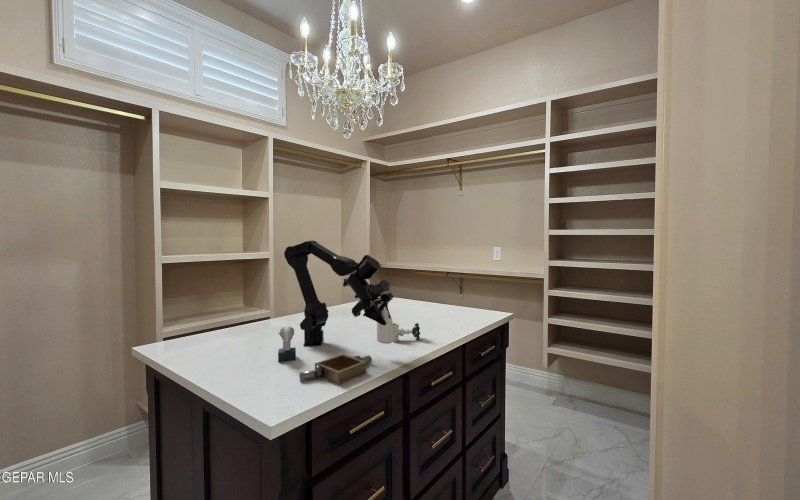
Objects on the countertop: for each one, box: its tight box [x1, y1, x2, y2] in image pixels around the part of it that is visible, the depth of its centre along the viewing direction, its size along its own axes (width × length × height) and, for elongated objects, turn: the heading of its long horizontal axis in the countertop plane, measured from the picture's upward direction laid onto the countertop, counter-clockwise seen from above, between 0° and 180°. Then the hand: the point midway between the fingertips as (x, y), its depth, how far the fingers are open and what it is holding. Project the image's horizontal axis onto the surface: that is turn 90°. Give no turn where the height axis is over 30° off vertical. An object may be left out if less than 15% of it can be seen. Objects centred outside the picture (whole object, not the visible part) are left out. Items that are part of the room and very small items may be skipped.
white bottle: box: [376, 307, 394, 345], centre depth 118 cm, size 4×6×12 cm
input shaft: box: [353, 354, 373, 365], centre depth 112 cm, size 6×4×4 cm, turn 140°
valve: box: [392, 322, 421, 343], centre depth 139 cm, size 7×7×12 cm
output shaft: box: [298, 365, 323, 382], centre depth 102 cm, size 6×4×4 cm, turn 114°
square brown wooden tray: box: [314, 353, 368, 386], centre depth 106 cm, size 11×11×4 cm
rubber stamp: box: [277, 325, 297, 363], centre depth 118 cm, size 6×8×11 cm
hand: (388, 323), depth 117 cm, fingers closed on white bottle, 3 cm apart
